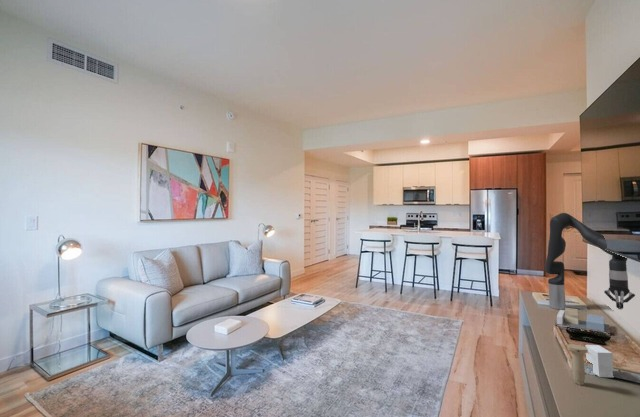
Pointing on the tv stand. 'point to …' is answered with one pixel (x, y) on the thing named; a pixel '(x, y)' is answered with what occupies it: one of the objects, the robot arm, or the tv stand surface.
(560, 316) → the panel
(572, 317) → the birch block
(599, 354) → the small box
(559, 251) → the robot arm
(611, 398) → the tv stand surface
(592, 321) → the vise jaw
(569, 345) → the handle
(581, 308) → the tv stand surface
